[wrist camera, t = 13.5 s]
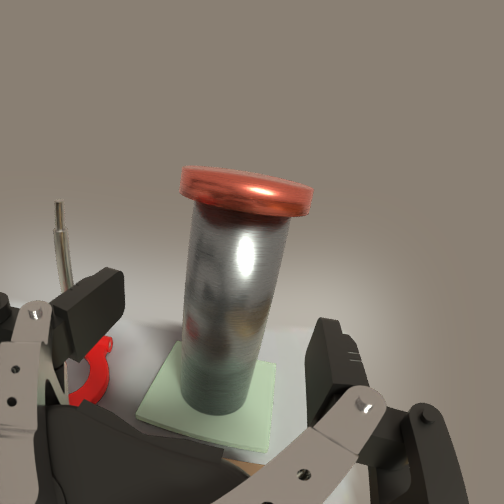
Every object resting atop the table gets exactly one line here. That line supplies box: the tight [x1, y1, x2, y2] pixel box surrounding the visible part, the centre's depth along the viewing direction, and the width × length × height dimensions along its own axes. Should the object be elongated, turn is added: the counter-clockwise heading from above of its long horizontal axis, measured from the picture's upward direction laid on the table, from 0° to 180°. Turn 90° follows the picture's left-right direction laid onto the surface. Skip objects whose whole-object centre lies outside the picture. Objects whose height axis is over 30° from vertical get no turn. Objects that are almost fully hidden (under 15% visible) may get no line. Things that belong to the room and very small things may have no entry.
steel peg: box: [179, 166, 314, 416], centre depth 16 cm, size 7×7×15 cm
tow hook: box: [53, 199, 113, 406], centre depth 14 cm, size 8×13×9 cm
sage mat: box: [135, 341, 276, 453], centre depth 19 cm, size 9×9×1 cm
